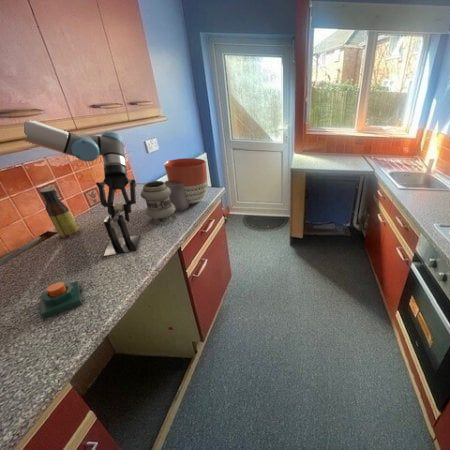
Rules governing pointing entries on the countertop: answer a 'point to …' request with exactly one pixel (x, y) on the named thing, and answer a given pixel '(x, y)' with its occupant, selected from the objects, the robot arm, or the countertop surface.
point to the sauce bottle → (59, 214)
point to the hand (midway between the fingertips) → (120, 221)
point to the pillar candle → (178, 195)
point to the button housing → (61, 300)
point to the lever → (116, 215)
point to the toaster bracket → (120, 244)
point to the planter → (189, 176)
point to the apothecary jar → (158, 201)
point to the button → (56, 289)
